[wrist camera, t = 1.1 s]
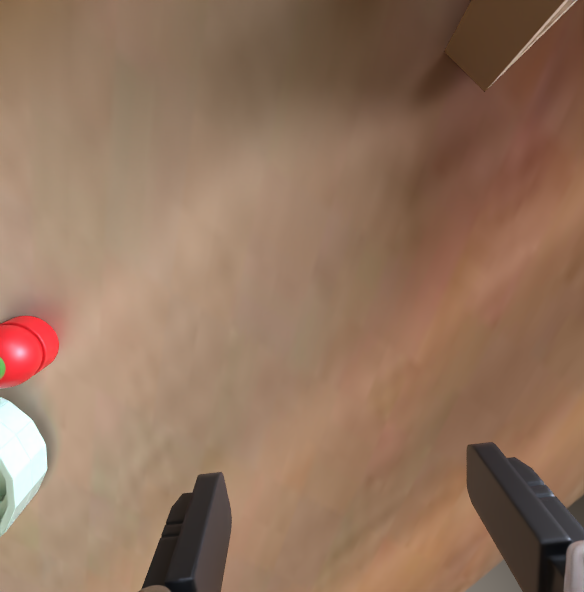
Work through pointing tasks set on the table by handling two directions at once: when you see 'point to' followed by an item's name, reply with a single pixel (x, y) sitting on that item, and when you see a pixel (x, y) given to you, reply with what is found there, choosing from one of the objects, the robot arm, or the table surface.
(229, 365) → the table surface
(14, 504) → the bowl
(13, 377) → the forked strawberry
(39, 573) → the table surface
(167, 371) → the table surface
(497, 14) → the photo frame
